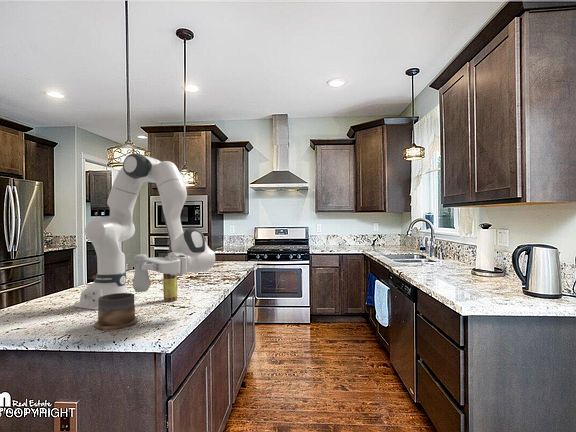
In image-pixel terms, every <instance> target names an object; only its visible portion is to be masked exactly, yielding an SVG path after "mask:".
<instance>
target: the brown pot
mask: <svg viewBox="0 0 576 432" xmlns="http://www.w3.org/2000/svg"><path fill="white" fill-rule="evenodd" d="M138 322H139V319H138V317H137V316H136V305H135V294H134V293H131V292H127V293H115V294H109V295H105V296H101V297H100V298H99V299H98V310H97V321H96V322H95V323H94V329H96V330H99V331H113V330H114V331H115V330H122V329H124V328H125V329H127V328H130V327H132V326H135V325H136V324H137V323H138Z"/></svg>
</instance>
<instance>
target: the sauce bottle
mask: <svg viewBox="0 0 576 432" xmlns="http://www.w3.org/2000/svg"><path fill="white" fill-rule="evenodd" d="M162 275H163V276H162V278H163V279H162V283H163V285H162V287H163V289H162V291H163V301H164V302H174V301H176V300H178V275H170V274H164V273H162Z"/></svg>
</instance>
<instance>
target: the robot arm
mask: <svg viewBox="0 0 576 432" xmlns="http://www.w3.org/2000/svg"><path fill="white" fill-rule="evenodd" d="M145 183H147V184H149V185H152V184H153V185H156V187H157V191H158V193H159V196H160V197H159V198H160V201H161V207H162V213H163V218H164V223H165V228H166V231H167V236H168V241H169V245H168V254H167V255H166V256H165V257H160V256H159V257H158V256H157V257H147V261H146V264H144V265H140V269H141V270H148V271H153V272H157V273H160V274H163V273H164V274H170V275H177V276H178V275H179V276H181V275H183V276H184V275H187V274H188V273H192V274H195V273H203V272H206V271H209V270H211V269H212V268H213V267H214V265H215V262H216V253H215V252H214V250H212V249H211V248H210V247H209V245H208V244H207V241H206V239H205V235H204V233H203V232H202V231H201V230H200V229H198V228H196V227H188V228H186V229H183V226H182V222H181V221H182V220H181V214H182V210H183V208H184V205H185V202H186V201H187V197H188V191H187V187H186V183H185V181H184V179H183V176H182V173H180V170H179V169H178V167H177V165H176V164H175V163H174V162H172V161H169V160H164V161H161V160H159V159H156V158H155V157H150V156H147V155H143V154H140V153H130V154H127V156H126V157H125V158H124V161H123V163H122V167H121V168H120V170H119V171H118V173H117V175H116V176H115V179H114V181H113V184H112V186H111V189H110V192H109V195H108V198H107V200H106V204H107V206H108V207H109V216H108V217H100V218H96V219H94V220H93V219H92V220H90V221H88V222H87V224H86V226H84V227H85V228H84V234H85V237H86V239H87V240H88V241H89V242H91V244H92V247H94V250H95V253H96V262H97V266H96V267H97V273H96V274H95V275H92V276H91V277H92V279H94V280H93V283H91V284H90V285H88V286H87V288H85V289H83V290H82V292H80V297H79V301H77V302H75V303H73V307H74V308H79V309H80V308H82V309H87V310H96V311H98V299H99V298H100V297H101V296H105V295H109V294H115V293H128V292H127V285H126V282H127V272H126V255H125V253H124V252H123V251H122V250H121V248H120V243H121V242H124V241H127V240H129V239H131V238H132V237H133V236H134V235H135V232H136V228H135V227H136V226H135V224H134V221H133V213H134V209H135V205H136V202H137V198H138V196H139V194H140V189H141V187H142V185H143V184H145Z"/></svg>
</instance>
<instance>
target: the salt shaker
mask: <svg viewBox="0 0 576 432" xmlns="http://www.w3.org/2000/svg"><path fill="white" fill-rule="evenodd" d="M147 258H148V255H147V254H145V253H141V254H140V253H139V254H136V255H134V257H133V259H134V260H133V261H134V262H135V263H136V264H135V269H134V274H133V275H134V276H133V279H132V280H133V281H132V288H133V290H134V292H135V293H142V292H143V293H144V292H147V291H149V289H150V287H151V281H150V276H149V270H141V269H140V265H144V264H146V261H147Z"/></svg>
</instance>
